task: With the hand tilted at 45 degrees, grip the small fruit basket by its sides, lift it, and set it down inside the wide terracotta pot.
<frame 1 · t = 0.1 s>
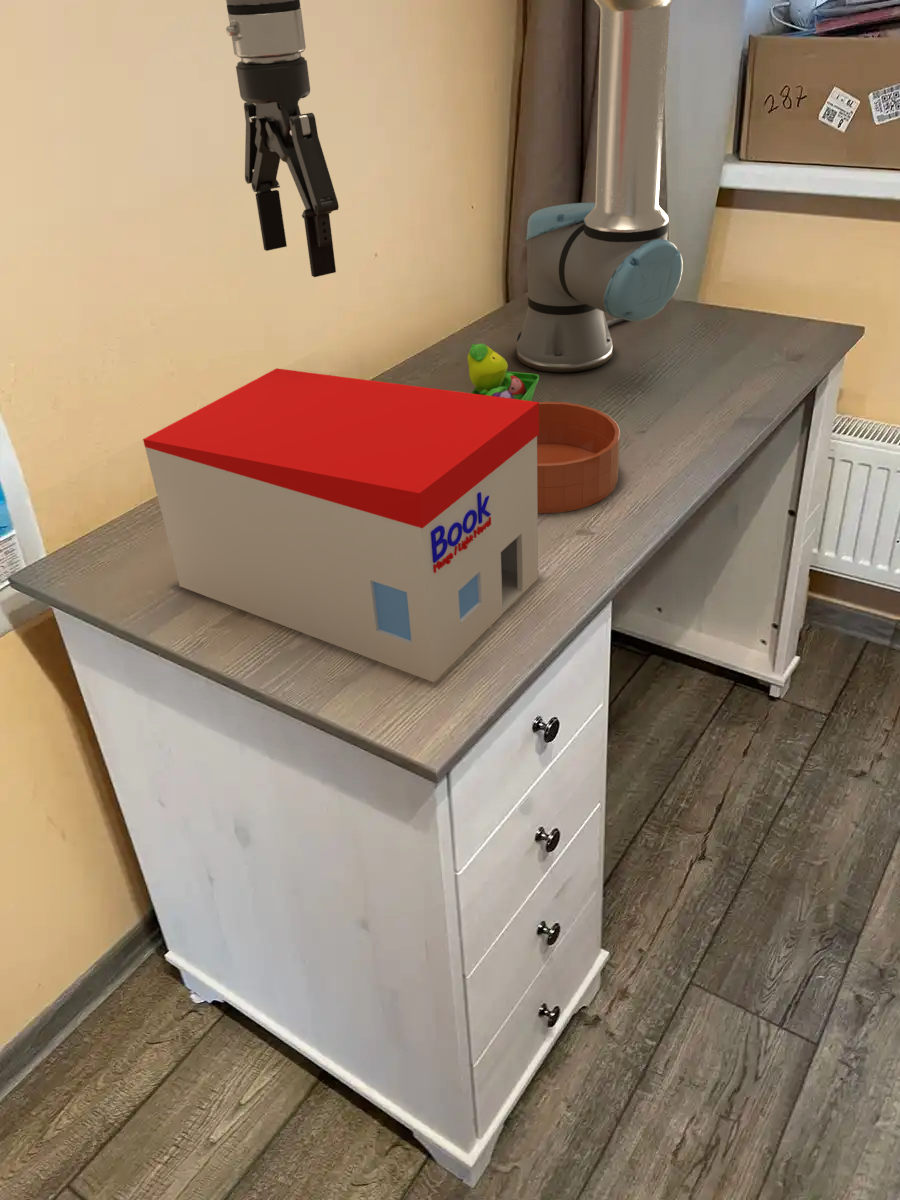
hand: (298, 260, 120), 28 cm above the table, tool pointing down, fingers open, 13 cm apart
pot: (546, 477, 131), on the table
bookstore: (358, 584, 114), on the table
fruit basket: (500, 421, 146), on the table
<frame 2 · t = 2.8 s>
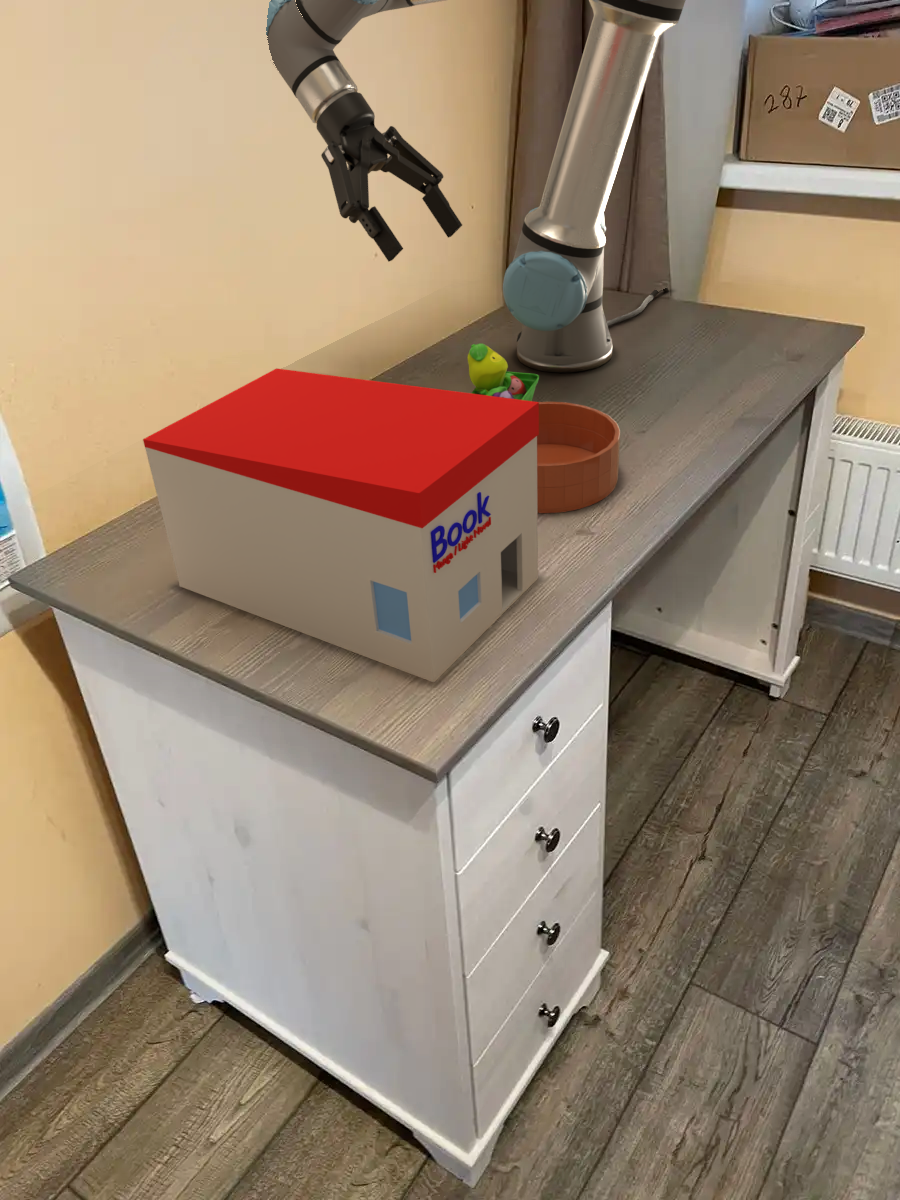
hand: (426, 243, 139), 23 cm above the table, tool tilted 40°, fingers open, 13 cm apart
nothing on the table moved.
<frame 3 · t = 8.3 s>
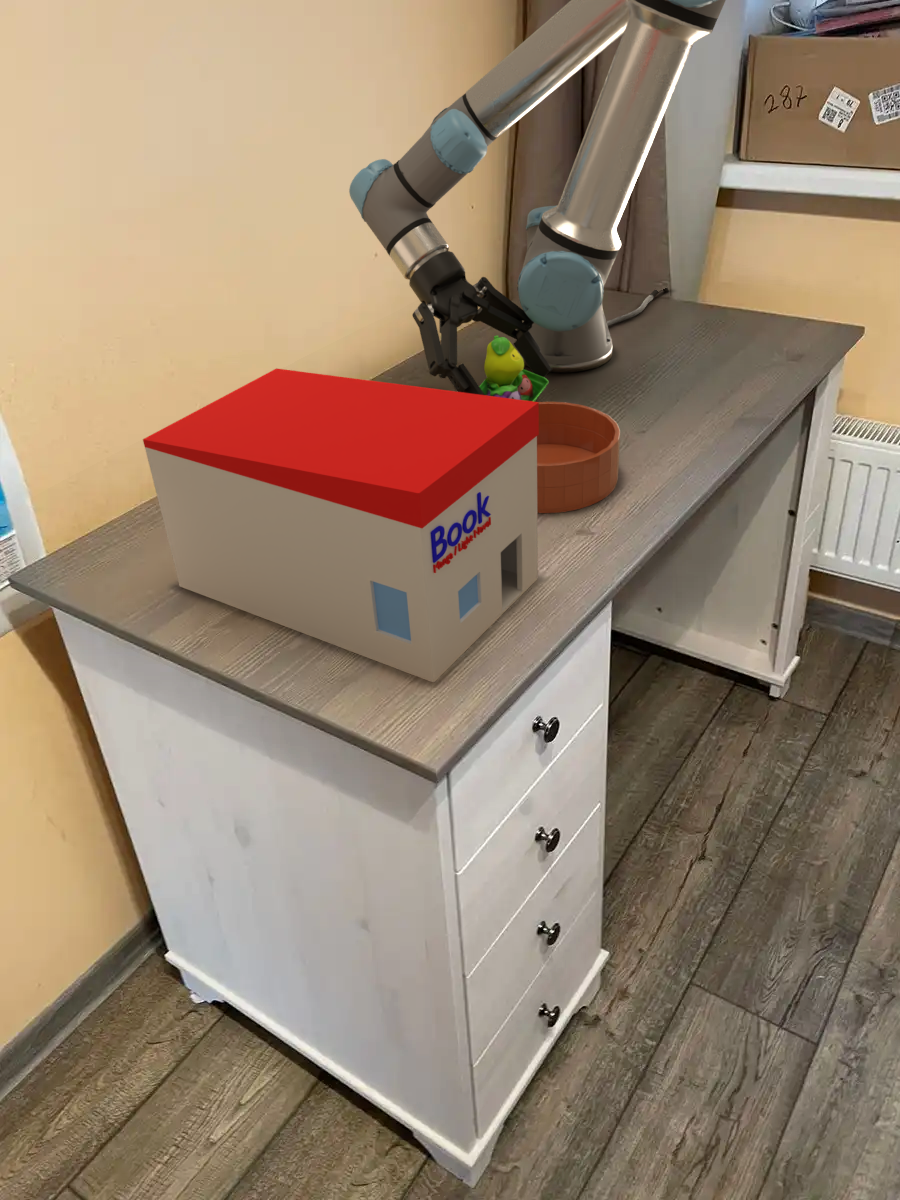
hand: (515, 391, 142), 5 cm above the table, tool tilted 45°, fingers closed on fruit basket, 13 cm apart
fruit basket: (499, 416, 146), point 1 cm above the table, touching gripper
everything else where it was.
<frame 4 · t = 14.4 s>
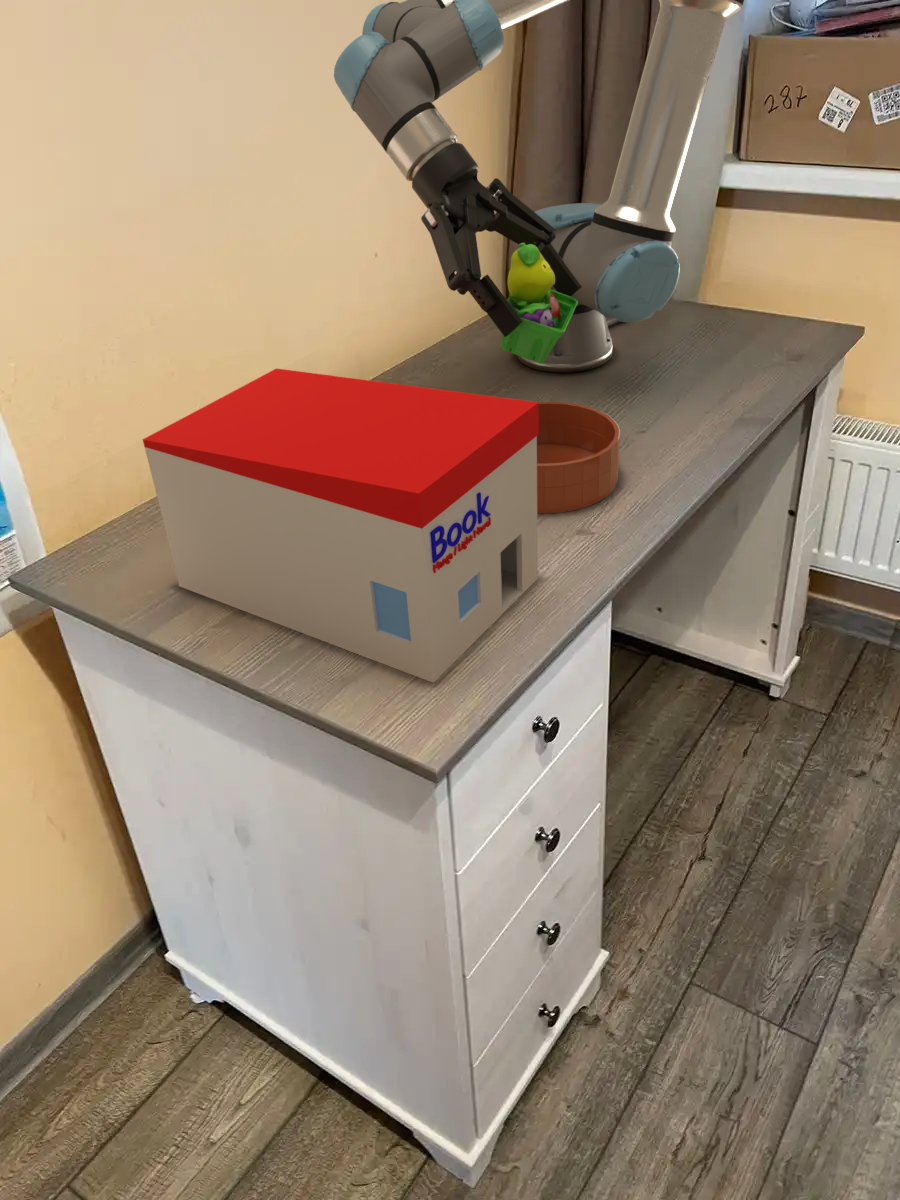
hand: (544, 311, 119), 22 cm above the table, tool tilted 45°, fingers closed on fruit basket, 13 cm apart
fruit basket: (523, 343, 122), point 18 cm above the table, touching gripper
everything else where it was.
when the fingers open (6 cm above the table, at t = 19.9 s): fruit basket stays where it is, resting on pot.
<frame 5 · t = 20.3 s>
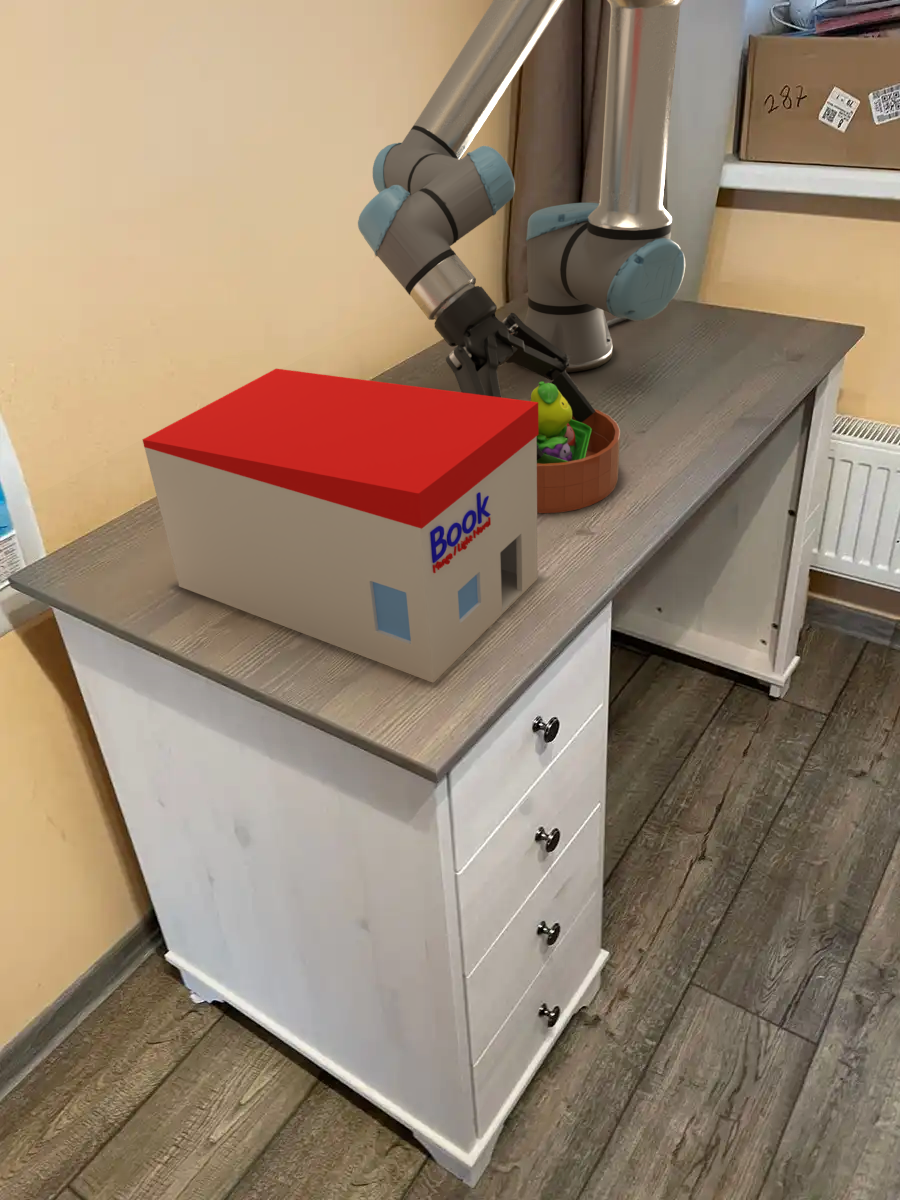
hand: (562, 439, 127), 6 cm above the table, tool tilted 45°, fingers open, 13 cm apart
fruit basket: (541, 469, 130), point 2 cm above the table, touching gripper, pot
everything else where it was.
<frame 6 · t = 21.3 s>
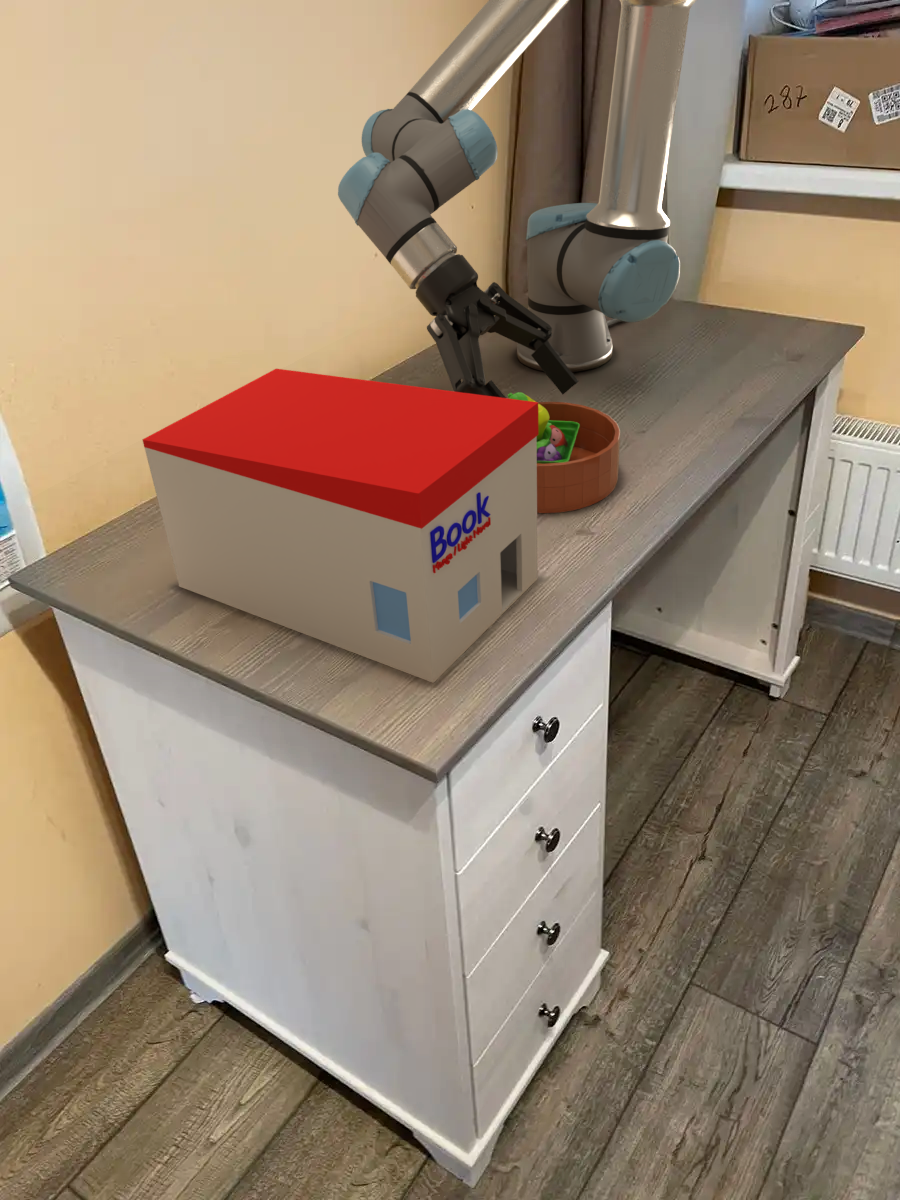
hand: (545, 408, 126), 9 cm above the table, tool tilted 45°, fingers open, 13 cm apart
fruit basket: (539, 476, 131), resting on pot
everything else where it was.
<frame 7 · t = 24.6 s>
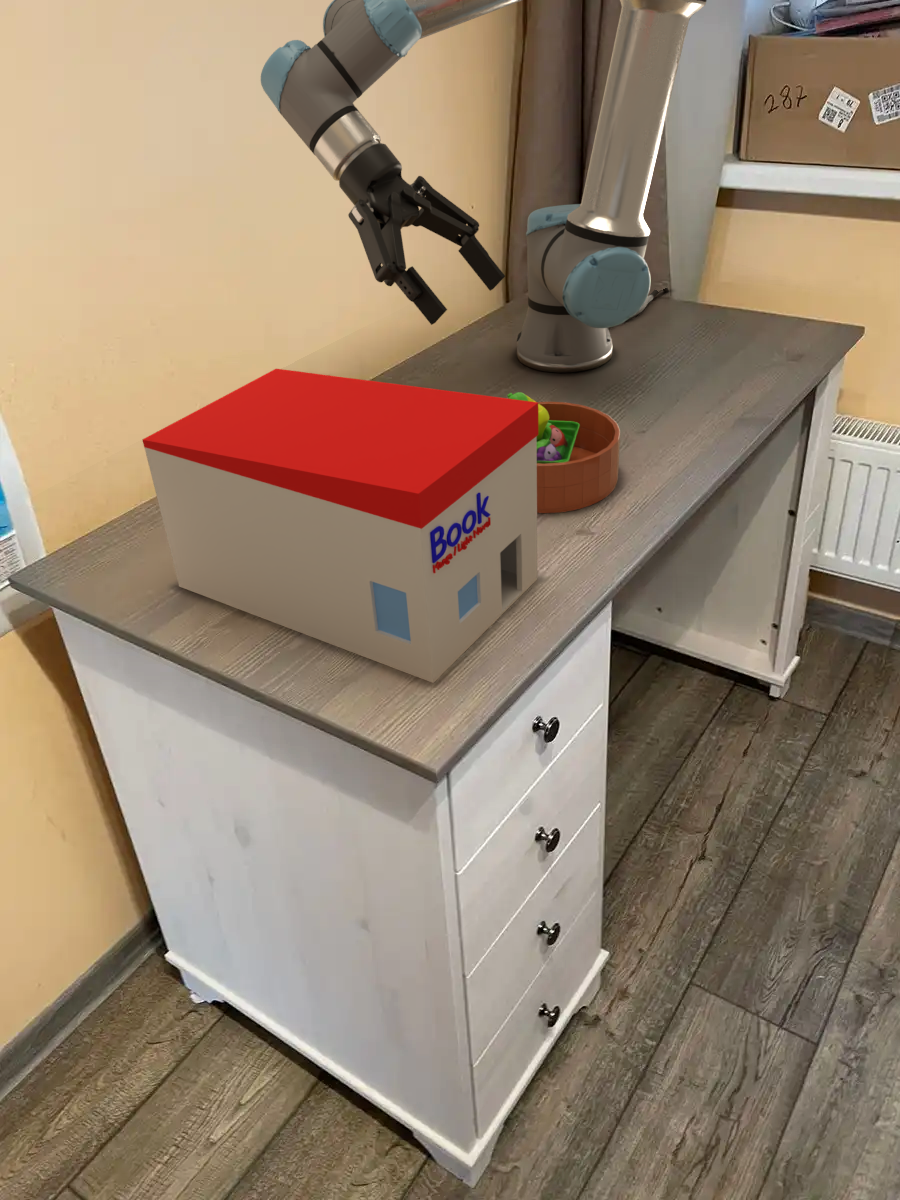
hand: (469, 300, 126), 21 cm above the table, tool tilted 45°, fingers open, 13 cm apart
nothing on the table moved.
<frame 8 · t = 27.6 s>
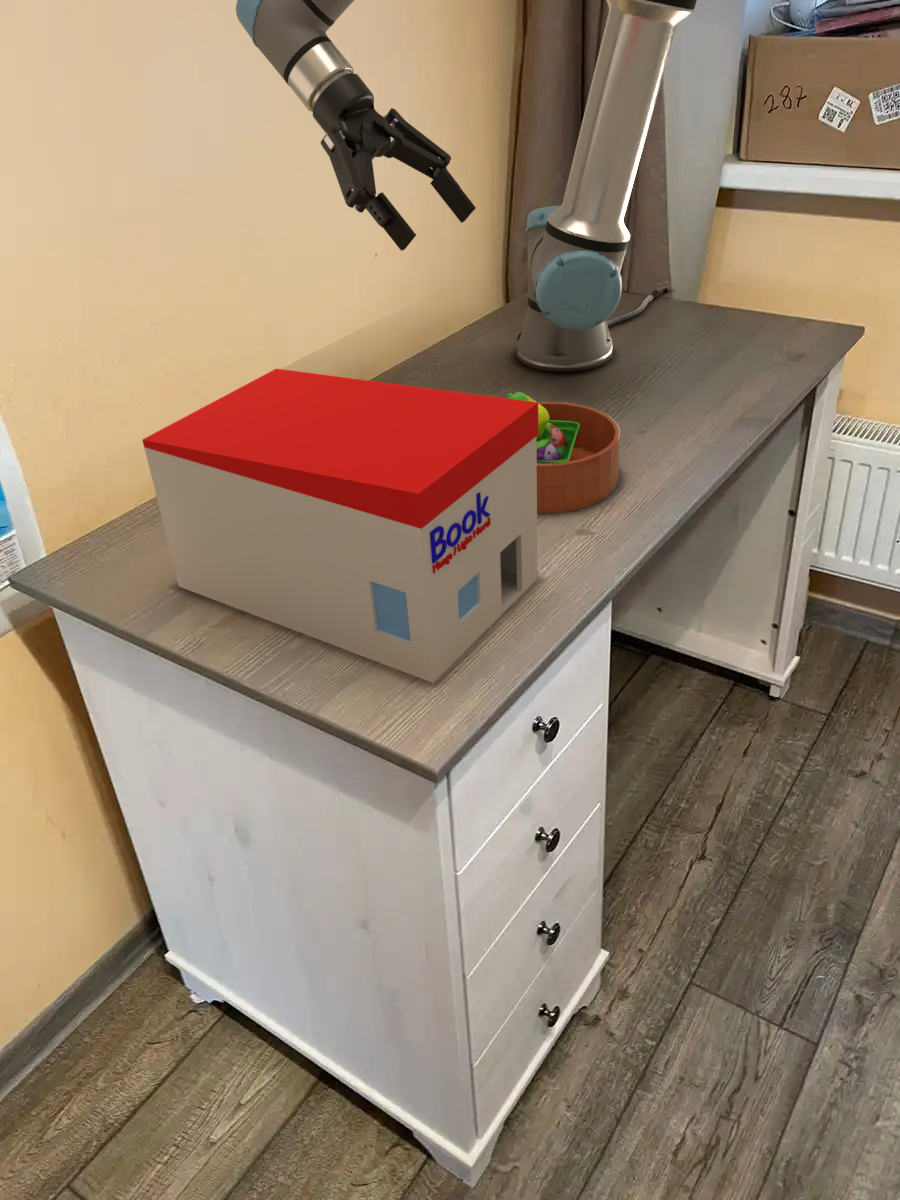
hand: (440, 229, 129), 28 cm above the table, tool tilted 45°, fingers open, 13 cm apart
nothing on the table moved.
at the end: fruit basket inside the target area in the pot (1.0 cm from its centre), point 0.4 cm above the pot's base; fruit basket tilted 0°; the gripper is holding nothing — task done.
